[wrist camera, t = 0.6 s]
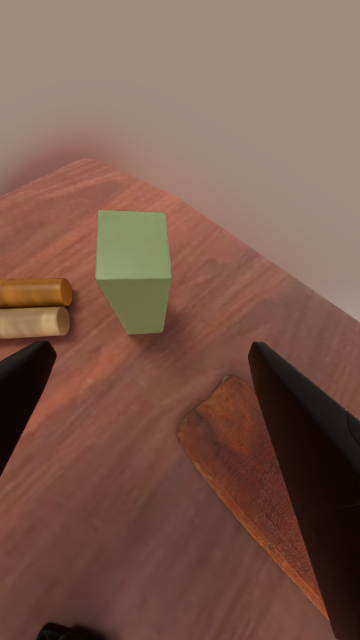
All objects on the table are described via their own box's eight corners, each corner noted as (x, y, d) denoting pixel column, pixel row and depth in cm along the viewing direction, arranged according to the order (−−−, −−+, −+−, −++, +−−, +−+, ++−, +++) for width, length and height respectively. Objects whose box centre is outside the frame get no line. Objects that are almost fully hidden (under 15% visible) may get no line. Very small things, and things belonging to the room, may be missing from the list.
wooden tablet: (168, 432, 20) (169, 437, 18) (228, 368, 23) (233, 368, 21) (373, 687, 15) (398, 722, 14) (412, 567, 19) (436, 584, 17)
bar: (162, 332, 23) (172, 278, 11) (127, 335, 22) (94, 279, 10) (160, 295, 25) (165, 212, 12) (126, 297, 24) (98, 209, 12)
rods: (69, 337, 21) (55, 330, 18) (-41, 345, 20) (-76, 338, 17) (73, 286, 23) (61, 272, 20) (-25, 289, 22) (-54, 274, 19)
